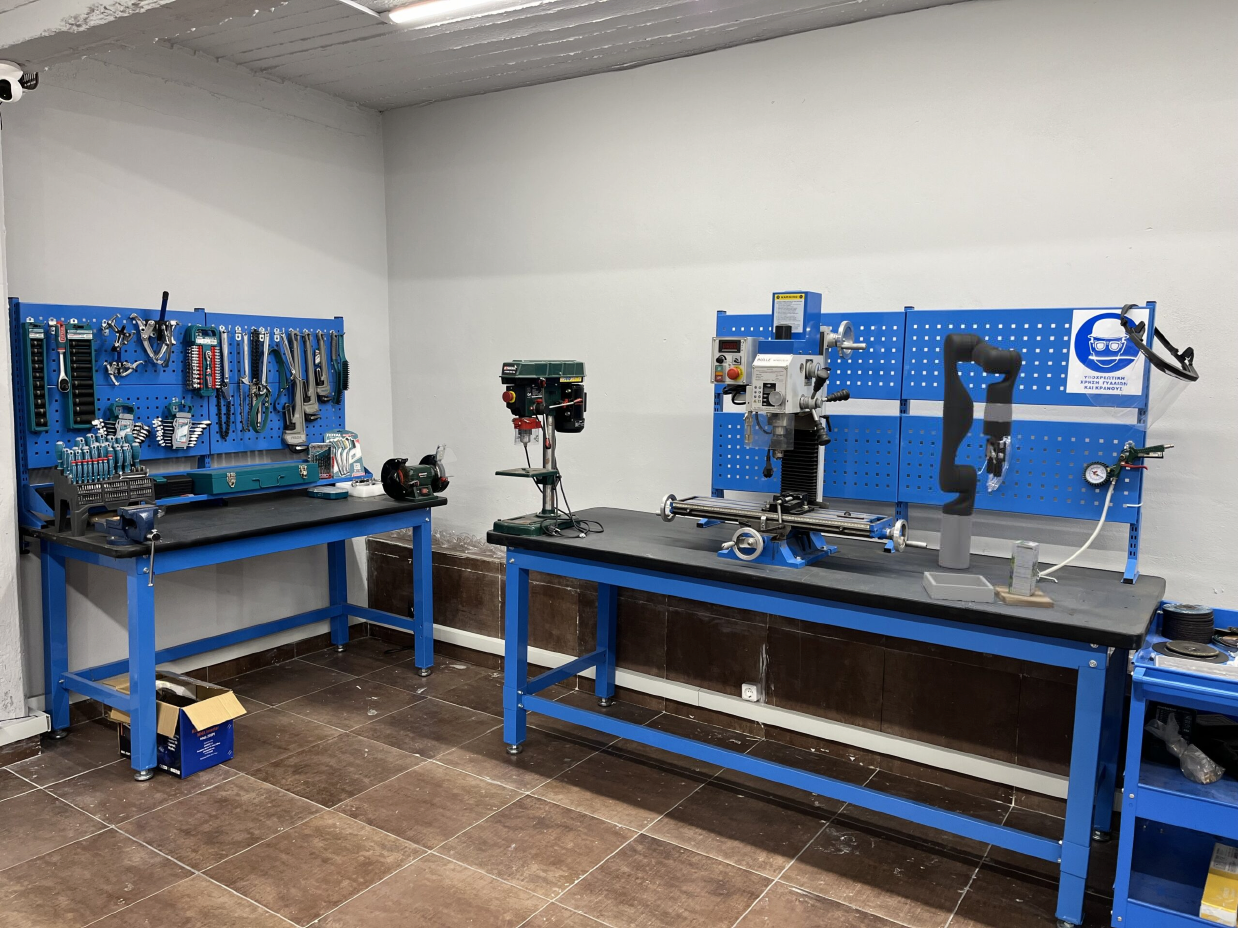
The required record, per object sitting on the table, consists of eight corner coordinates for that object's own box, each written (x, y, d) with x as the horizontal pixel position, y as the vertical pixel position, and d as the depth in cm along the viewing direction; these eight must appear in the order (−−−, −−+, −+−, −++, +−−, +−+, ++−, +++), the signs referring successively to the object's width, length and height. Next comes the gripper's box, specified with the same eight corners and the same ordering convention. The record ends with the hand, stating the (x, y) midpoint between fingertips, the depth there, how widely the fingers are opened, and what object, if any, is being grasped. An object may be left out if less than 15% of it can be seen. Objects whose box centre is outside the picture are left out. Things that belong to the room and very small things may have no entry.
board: (992, 590, 252) (992, 585, 252) (1036, 593, 250) (1037, 588, 250) (1006, 604, 237) (1006, 599, 237) (1053, 608, 235) (1054, 602, 234)
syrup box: (1013, 589, 248) (1017, 539, 246) (1036, 593, 244) (1039, 542, 242) (1007, 593, 243) (1011, 542, 242) (1030, 597, 240) (1034, 545, 238)
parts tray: (923, 585, 257) (924, 571, 256) (980, 589, 254) (981, 575, 254) (932, 598, 241) (933, 584, 241) (993, 602, 238) (994, 588, 238)
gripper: (978, 417, 259) (974, 472, 261) (989, 420, 245) (985, 477, 247) (1005, 418, 258) (1001, 473, 259) (1017, 421, 244) (1013, 478, 245)
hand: (993, 475), depth 253 cm, fingers open, 8 cm apart
